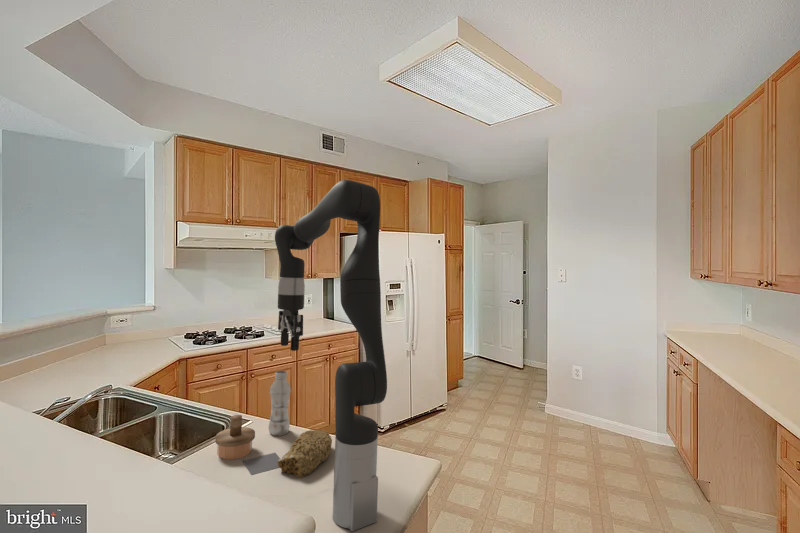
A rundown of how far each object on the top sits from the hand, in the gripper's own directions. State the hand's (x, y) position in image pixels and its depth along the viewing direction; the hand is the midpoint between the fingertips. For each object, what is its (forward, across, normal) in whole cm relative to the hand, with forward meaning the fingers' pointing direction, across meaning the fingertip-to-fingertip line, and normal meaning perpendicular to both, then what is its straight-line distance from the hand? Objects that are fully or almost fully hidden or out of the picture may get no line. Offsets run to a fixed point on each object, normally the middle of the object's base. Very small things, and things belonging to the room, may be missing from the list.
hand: (289, 347), depth 116 cm
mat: (+30, -6, +8) cm, 32 cm away
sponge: (+30, -9, -3) cm, 32 cm away
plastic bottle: (+30, +12, -2) cm, 33 cm away
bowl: (+30, +5, +13) cm, 33 cm away
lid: (+26, +5, +13) cm, 29 cm away
